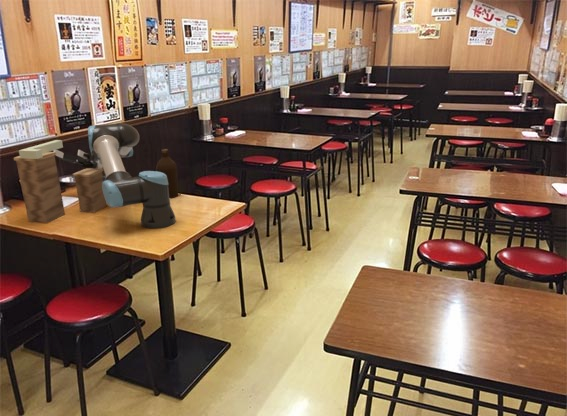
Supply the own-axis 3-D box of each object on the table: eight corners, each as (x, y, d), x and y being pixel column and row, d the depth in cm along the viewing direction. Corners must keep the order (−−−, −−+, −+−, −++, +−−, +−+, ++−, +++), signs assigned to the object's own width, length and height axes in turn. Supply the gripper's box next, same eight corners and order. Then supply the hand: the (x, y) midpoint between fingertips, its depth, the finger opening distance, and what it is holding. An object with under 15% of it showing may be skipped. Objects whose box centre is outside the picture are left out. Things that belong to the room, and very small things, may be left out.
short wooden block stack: (108, 205, 230) (103, 168, 224) (95, 213, 220) (89, 174, 214) (92, 204, 232) (86, 168, 226) (78, 212, 222) (72, 173, 215)
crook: (56, 147, 221) (55, 140, 219) (72, 147, 219) (71, 140, 218) (20, 158, 198) (18, 150, 197) (37, 158, 197) (35, 151, 196)
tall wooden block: (66, 214, 219) (55, 152, 209) (48, 223, 207) (35, 158, 197) (46, 212, 221) (34, 151, 212) (26, 222, 209) (13, 157, 200)
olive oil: (176, 191, 251) (172, 146, 243) (181, 197, 242) (177, 150, 234) (157, 194, 247) (152, 148, 239) (161, 200, 238) (156, 152, 230)
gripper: (111, 172, 242) (87, 160, 222) (69, 170, 247) (42, 158, 227) (113, 158, 244) (90, 145, 223) (72, 156, 249) (45, 144, 228)
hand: (66, 152), depth 225 cm, fingers open, 13 cm apart
